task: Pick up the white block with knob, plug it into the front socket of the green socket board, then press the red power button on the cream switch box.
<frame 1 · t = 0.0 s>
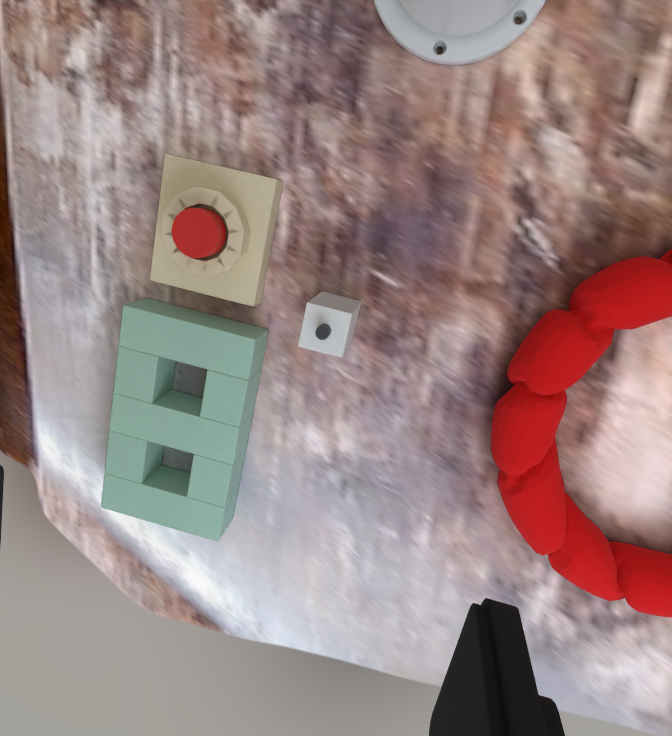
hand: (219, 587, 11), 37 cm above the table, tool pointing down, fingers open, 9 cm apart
green socket board: (191, 412, 51), on the table
white block with knob: (337, 315, 46), on the table
power button: (199, 232, 42), point 4 cm above the table, slide at 0.1 cm
switch box: (220, 231, 46), on the table
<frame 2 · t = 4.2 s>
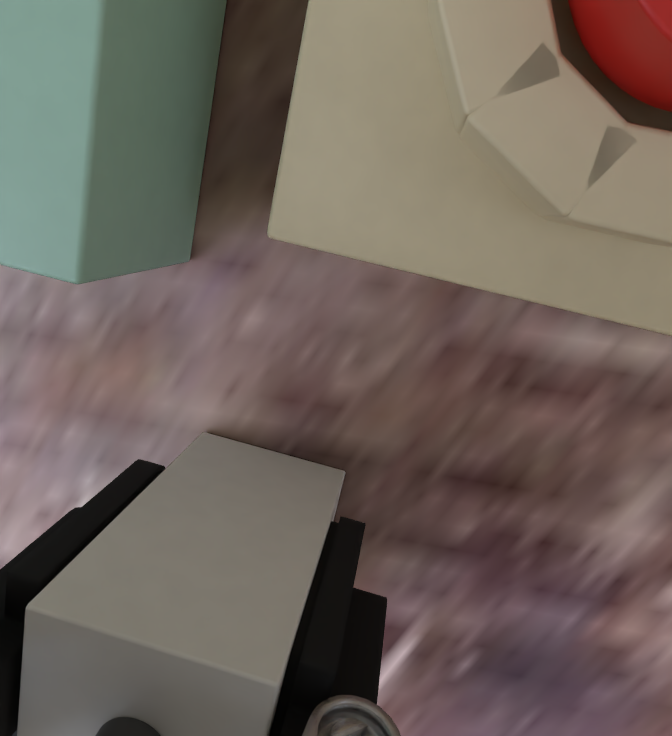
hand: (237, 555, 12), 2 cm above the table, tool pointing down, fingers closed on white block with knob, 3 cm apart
white block with knob: (260, 514, 13), on the table, touching gripper
switch box: (625, 37, 10), on the table
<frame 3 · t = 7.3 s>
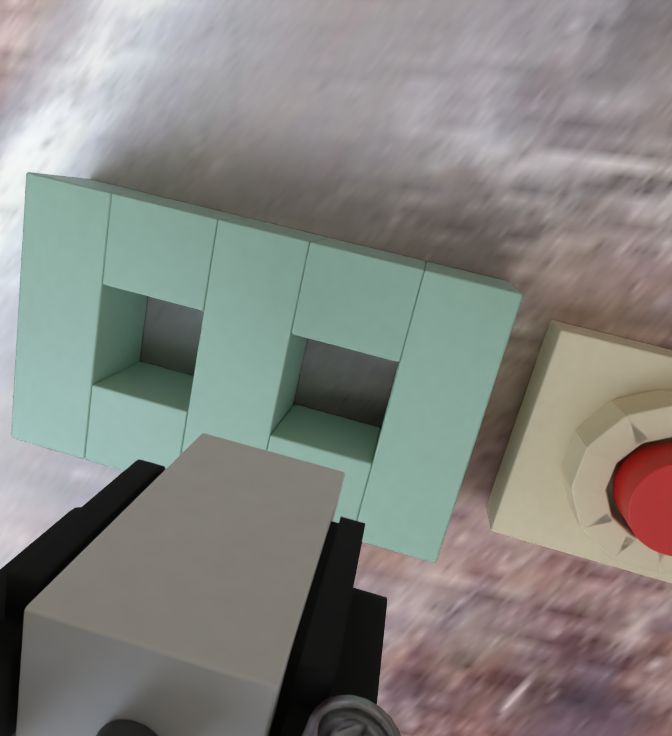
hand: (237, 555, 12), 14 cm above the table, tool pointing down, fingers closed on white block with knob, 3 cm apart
green socket board: (266, 351, 26), on the table
white block with knob: (260, 515, 13), point 13 cm above the table, touching gripper
switch box: (631, 448, 24), on the table
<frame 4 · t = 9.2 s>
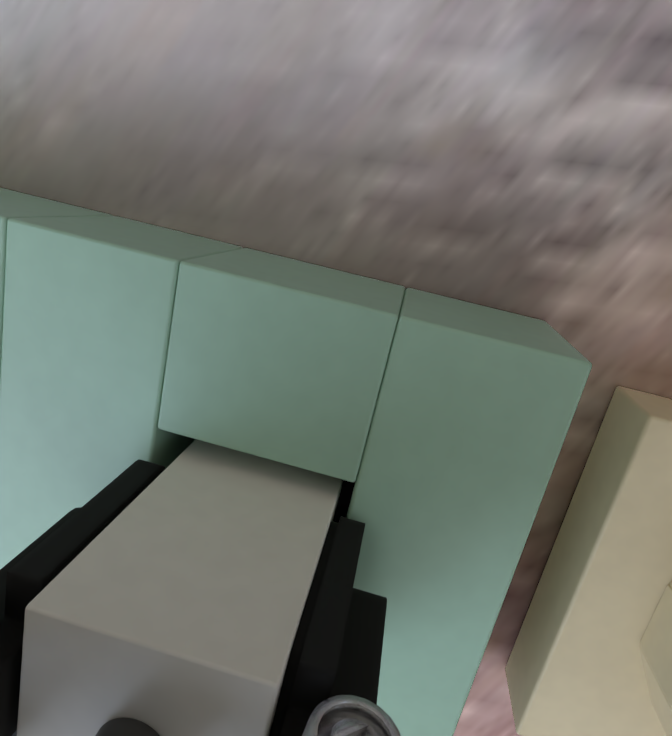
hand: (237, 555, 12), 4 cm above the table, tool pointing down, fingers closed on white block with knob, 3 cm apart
green socket board: (153, 427, 16), on the table
white block with knob: (260, 514, 13), point 3 cm above the table, touching gripper
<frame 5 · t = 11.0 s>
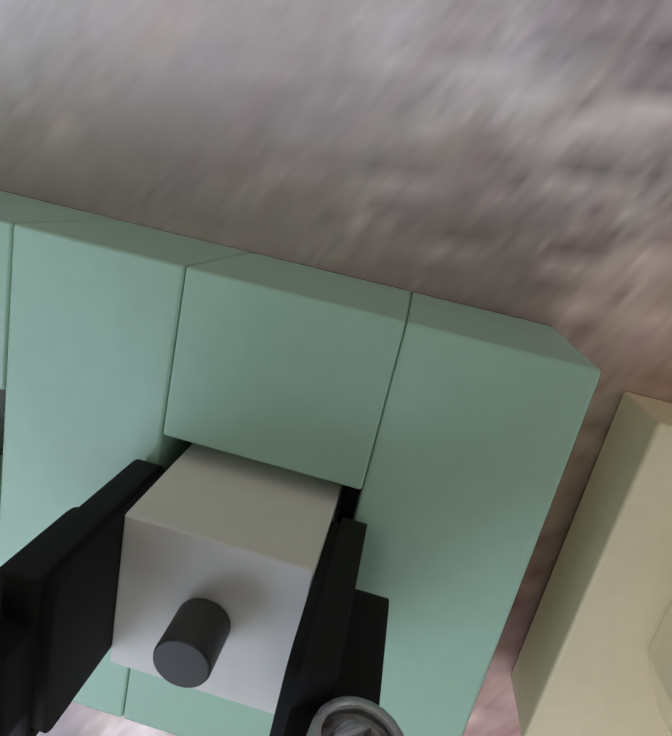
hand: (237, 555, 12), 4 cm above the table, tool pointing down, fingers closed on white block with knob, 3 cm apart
green socket board: (157, 432, 16), on the table
white block with knob: (287, 463, 16), resting in green socket board, touching gripper
when the fingers open (4 cm above the table, at t = 11.1 s): white block with knob stays where it is, resting in green socket board.
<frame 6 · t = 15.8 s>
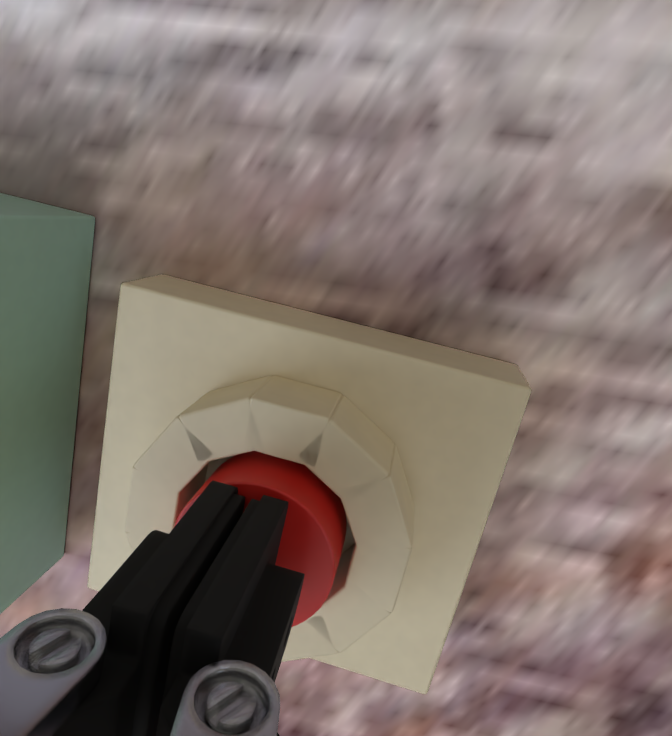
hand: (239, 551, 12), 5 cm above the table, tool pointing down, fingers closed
power button: (262, 537, 13), point 4 cm above the table, slide at -0.5 cm, touching gripper
switch box: (300, 464, 16), on the table
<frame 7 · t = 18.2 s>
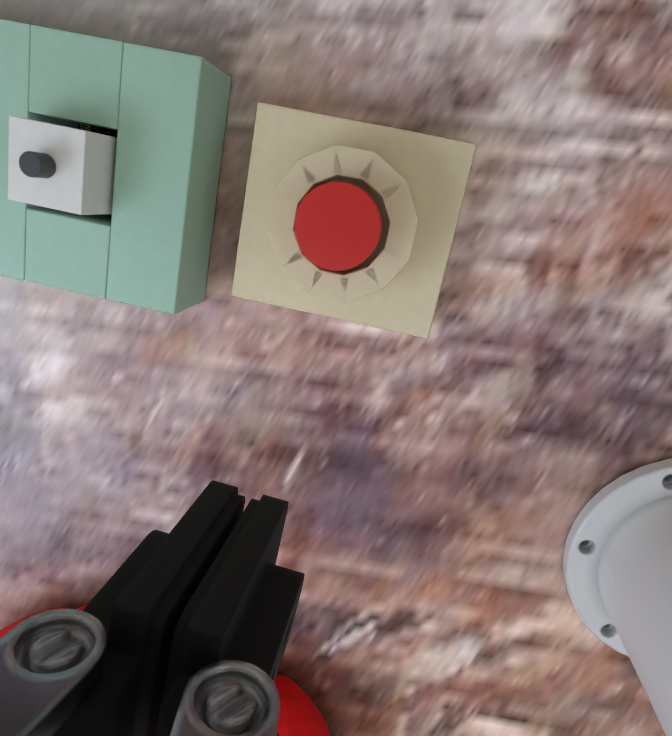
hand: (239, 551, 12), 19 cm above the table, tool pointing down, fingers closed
green socket board: (46, 160, 30), on the table
white block with knob: (117, 173, 29), resting in green socket board
power button: (339, 226, 24), point 4 cm above the table, slide at 0.1 cm
switch box: (351, 223, 28), on the table
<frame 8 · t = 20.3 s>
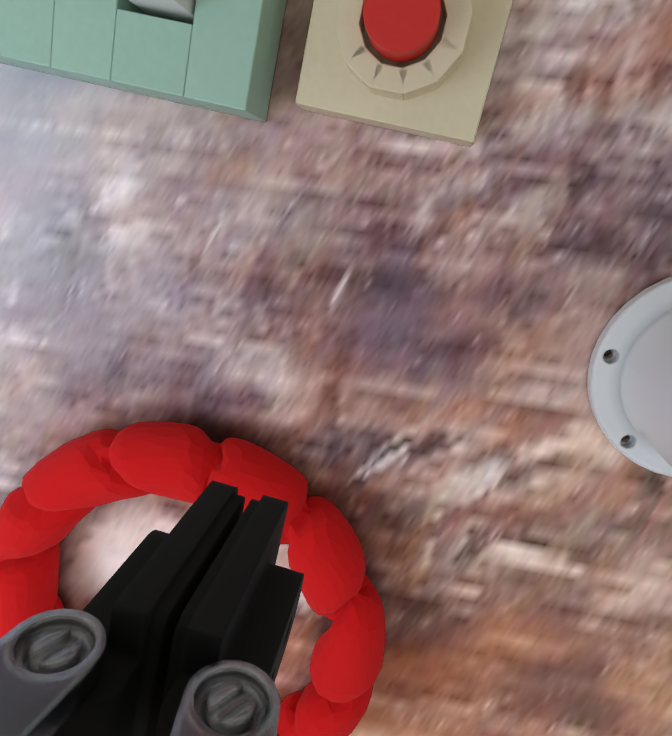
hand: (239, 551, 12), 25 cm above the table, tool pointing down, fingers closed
decorative ring: (193, 593, 44), on the table
power button: (402, 15, 27), point 4 cm above the table, slide at 0.1 cm
switch box: (405, 42, 31), on the table
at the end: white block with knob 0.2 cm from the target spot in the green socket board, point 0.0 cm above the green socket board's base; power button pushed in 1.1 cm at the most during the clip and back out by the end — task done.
